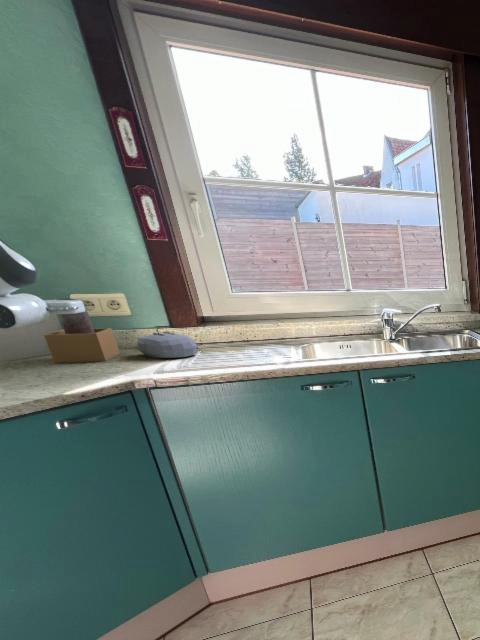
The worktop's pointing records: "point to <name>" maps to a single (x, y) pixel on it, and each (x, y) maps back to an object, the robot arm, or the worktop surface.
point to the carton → (82, 346)
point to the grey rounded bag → (167, 345)
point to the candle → (76, 321)
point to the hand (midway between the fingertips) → (50, 304)
